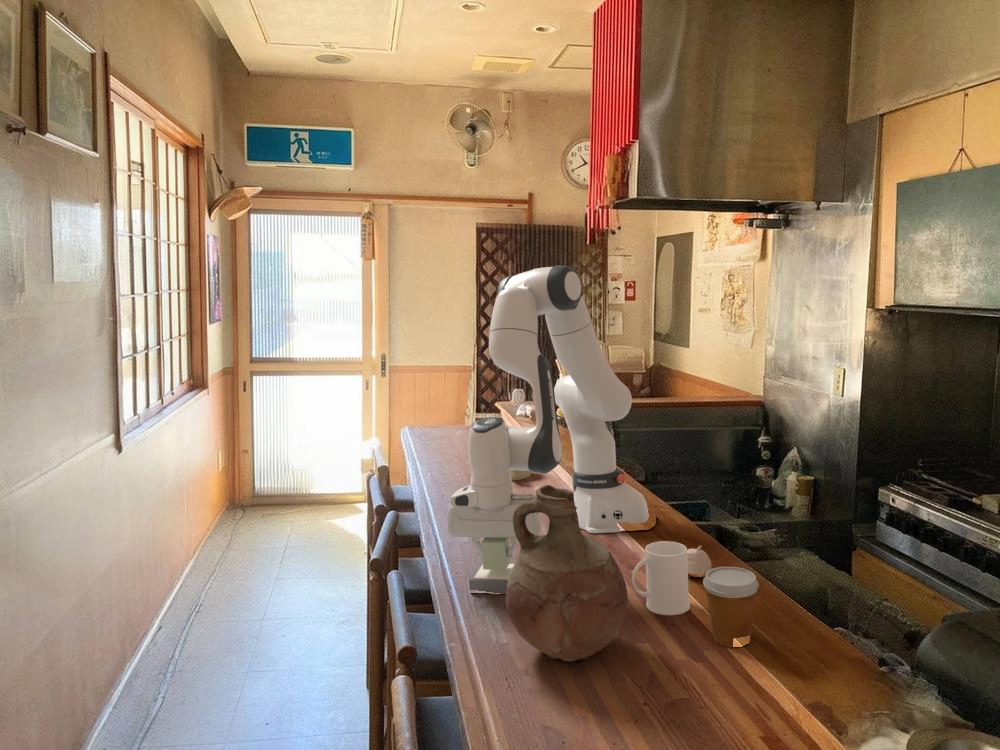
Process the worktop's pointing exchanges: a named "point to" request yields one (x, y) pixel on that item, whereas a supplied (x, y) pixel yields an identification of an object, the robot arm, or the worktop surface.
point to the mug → (665, 578)
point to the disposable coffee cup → (730, 602)
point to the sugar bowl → (519, 474)
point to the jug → (563, 582)
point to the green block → (495, 553)
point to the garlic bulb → (698, 561)
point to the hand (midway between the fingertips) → (496, 555)
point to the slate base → (490, 579)
